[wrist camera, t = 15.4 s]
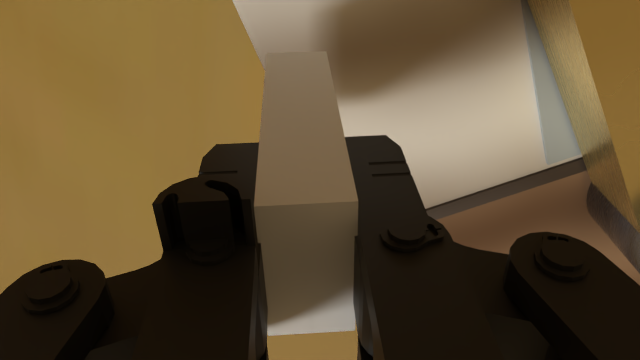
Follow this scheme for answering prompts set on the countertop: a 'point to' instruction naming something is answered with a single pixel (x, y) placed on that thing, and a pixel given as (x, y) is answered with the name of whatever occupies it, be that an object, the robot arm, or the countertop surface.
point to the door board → (451, 108)
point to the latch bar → (601, 103)
